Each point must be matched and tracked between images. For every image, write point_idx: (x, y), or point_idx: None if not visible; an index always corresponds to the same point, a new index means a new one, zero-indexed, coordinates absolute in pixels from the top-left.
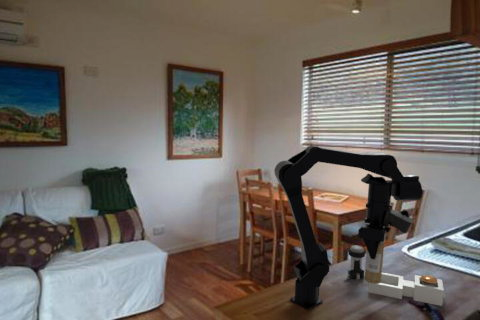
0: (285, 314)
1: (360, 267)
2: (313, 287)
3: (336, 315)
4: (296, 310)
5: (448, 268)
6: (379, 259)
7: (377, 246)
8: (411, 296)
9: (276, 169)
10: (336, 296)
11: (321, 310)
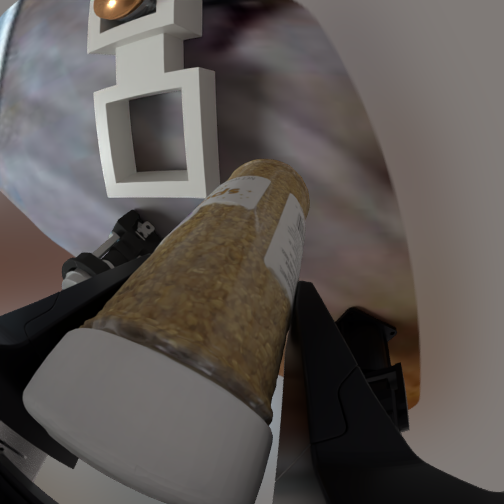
0: (416, 355)
1: (116, 237)
2: (384, 365)
3: (412, 270)
4: (400, 344)
5: (8, 45)
6: (285, 241)
7: (374, 405)
8: (182, 45)
9: None
10: (300, 277)
11: (393, 304)
